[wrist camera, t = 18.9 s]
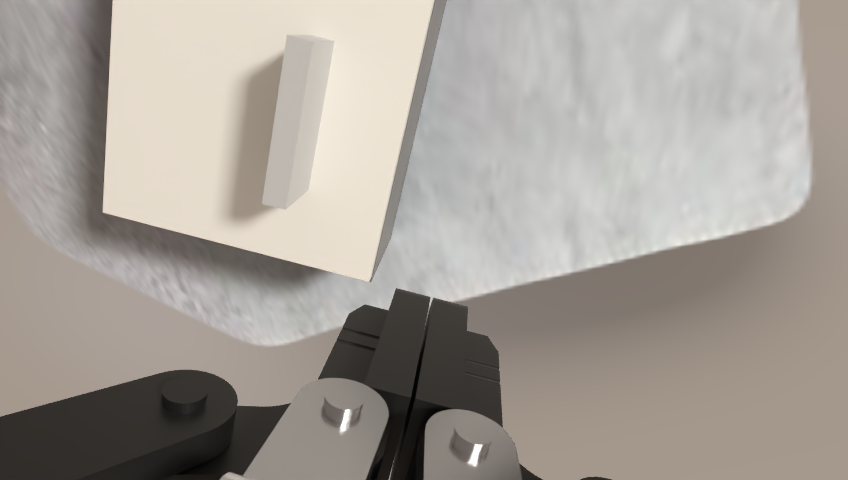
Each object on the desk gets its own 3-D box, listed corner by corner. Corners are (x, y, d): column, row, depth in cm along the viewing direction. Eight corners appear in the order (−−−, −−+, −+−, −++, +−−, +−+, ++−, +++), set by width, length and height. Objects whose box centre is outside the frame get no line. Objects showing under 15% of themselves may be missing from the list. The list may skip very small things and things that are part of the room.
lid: (111, 208, 34) (54, 234, 30) (127, -112, 29) (61, -140, 24) (371, 276, 34) (355, 312, 30) (441, -32, 28) (434, -44, 24)
